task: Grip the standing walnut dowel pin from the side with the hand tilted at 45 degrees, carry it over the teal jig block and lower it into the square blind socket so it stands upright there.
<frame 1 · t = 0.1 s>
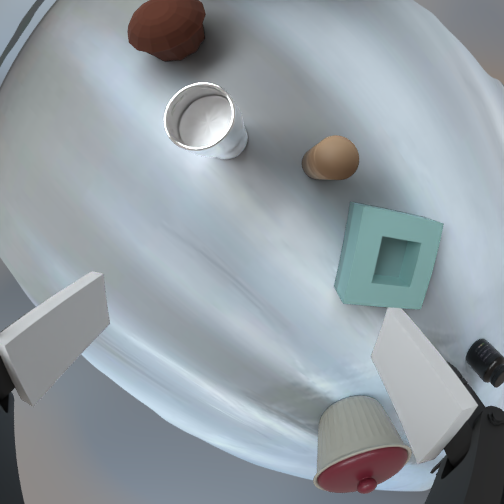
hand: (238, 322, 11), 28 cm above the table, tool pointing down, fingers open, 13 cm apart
muffin: (178, 40, 31), on the table
canister: (348, 411, 48), on the table
beer glass: (226, 138, 36), on the table
supplement bottle: (475, 349, 42), on the table
socket block: (381, 251, 38), on the table
dowel pin: (317, 163, 35), on the table
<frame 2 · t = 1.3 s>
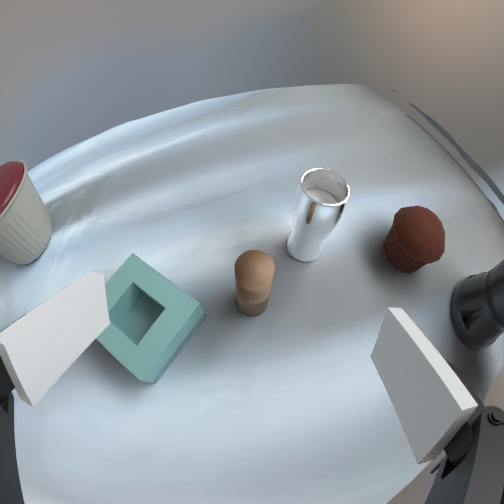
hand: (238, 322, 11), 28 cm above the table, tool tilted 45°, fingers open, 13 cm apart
muffin: (403, 252, 45), on the table
canister: (34, 241, 45), on the table
beer glass: (304, 246, 46), on the table
socket block: (148, 324, 38), on the table
dowel pin: (252, 302, 40), on the table
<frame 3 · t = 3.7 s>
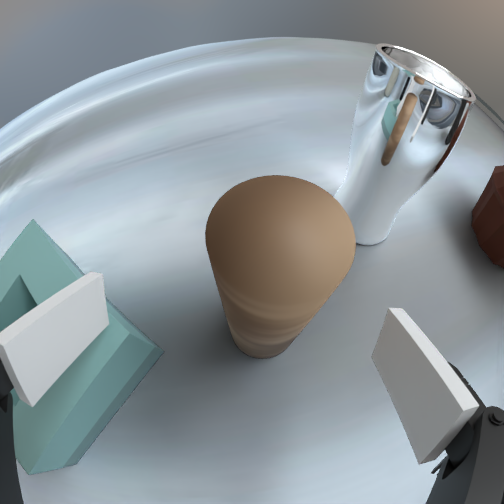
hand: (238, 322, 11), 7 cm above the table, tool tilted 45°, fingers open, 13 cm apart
muffin: (492, 237, 23), on the table
beer glass: (359, 218, 23), on the table
socket block: (62, 356, 16), on the table
dowel pin: (262, 327, 18), on the table
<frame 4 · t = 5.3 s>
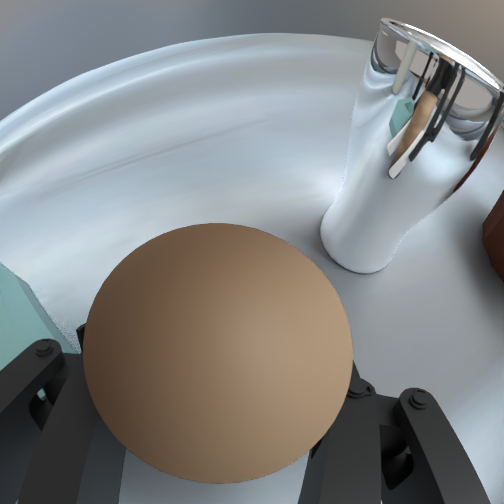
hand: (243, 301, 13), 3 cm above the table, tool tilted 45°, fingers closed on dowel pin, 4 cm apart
beer glass: (357, 238, 19), on the table
socket block: (24, 394, 12), on the table
dowel pin: (235, 379, 14), on the table, touching gripper
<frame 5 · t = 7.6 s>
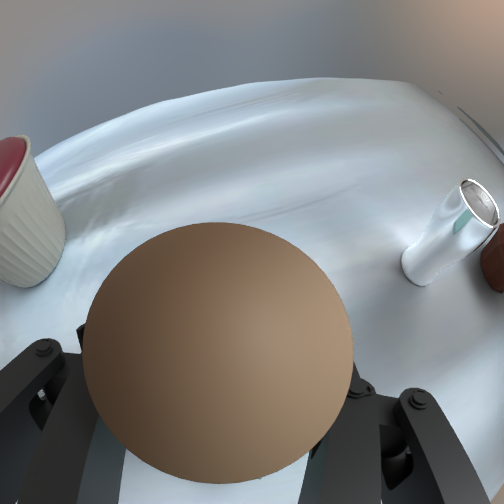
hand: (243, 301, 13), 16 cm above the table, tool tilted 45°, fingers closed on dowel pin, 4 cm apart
muffin: (493, 270, 33), on the table
canister: (40, 253, 33), on the table
beer glass: (417, 267, 33), on the table
dowel pin: (235, 379, 14), point 13 cm above the table, touching gripper
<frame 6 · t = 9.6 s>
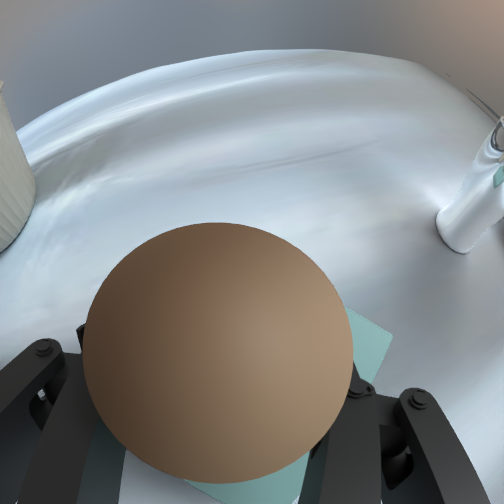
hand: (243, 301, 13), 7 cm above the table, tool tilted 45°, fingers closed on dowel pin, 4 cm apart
canister: (8, 220, 25), on the table
beer glass: (453, 232, 25), on the table
socket block: (238, 381, 18), on the table
dowel pin: (235, 379, 14), point 4 cm above the table, touching gripper
when the fingers open (7 cm above the table, at t = 10.0 s): dowel pin drops 2 cm, resting on socket block.
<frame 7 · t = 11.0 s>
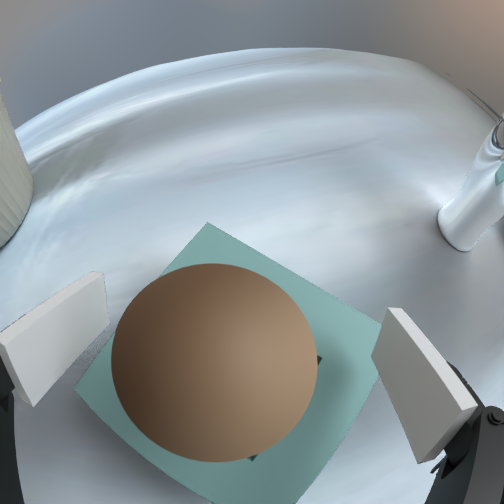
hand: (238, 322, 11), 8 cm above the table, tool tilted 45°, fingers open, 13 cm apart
canister: (6, 218, 24), on the table
beer glass: (455, 230, 25), on the table
socket block: (237, 381, 17), on the table
dowel pin: (233, 380, 16), point 2 cm above the table, touching socket block
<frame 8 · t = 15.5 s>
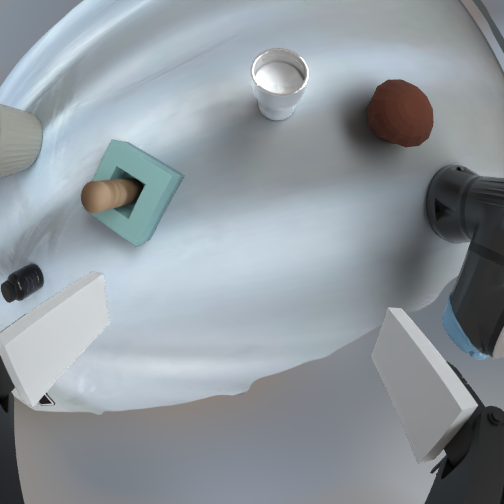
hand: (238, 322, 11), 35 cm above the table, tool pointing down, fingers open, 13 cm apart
muffin: (387, 119, 39), on the table
canister: (30, 142, 43), on the table
beer glass: (276, 104, 40), on the table
supplement bottle: (37, 275, 52), on the table
socket block: (138, 189, 45), on the table
dowel pin: (132, 190, 43), point 2 cm above the table, touching socket block
cell phone: (42, 396, 68), on the table
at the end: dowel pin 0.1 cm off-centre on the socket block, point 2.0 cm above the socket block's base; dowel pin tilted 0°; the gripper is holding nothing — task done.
